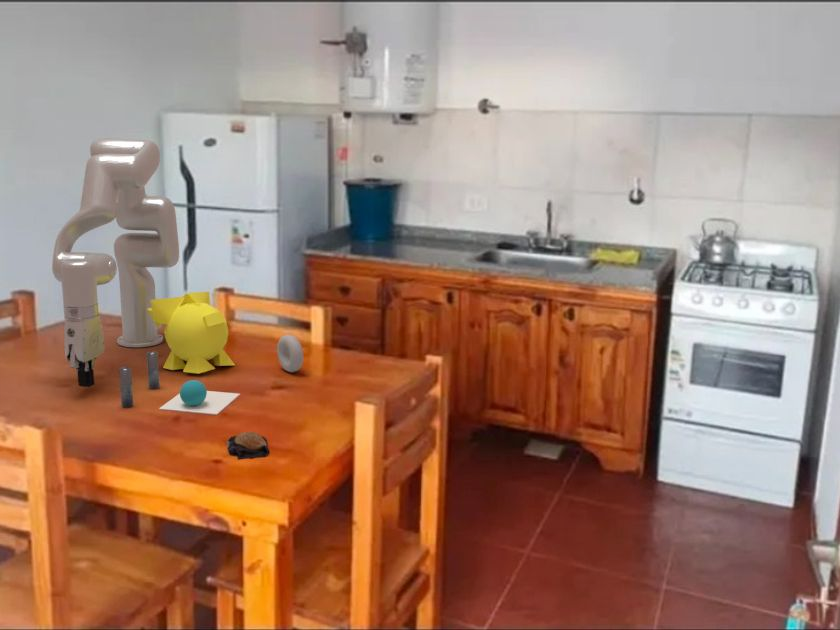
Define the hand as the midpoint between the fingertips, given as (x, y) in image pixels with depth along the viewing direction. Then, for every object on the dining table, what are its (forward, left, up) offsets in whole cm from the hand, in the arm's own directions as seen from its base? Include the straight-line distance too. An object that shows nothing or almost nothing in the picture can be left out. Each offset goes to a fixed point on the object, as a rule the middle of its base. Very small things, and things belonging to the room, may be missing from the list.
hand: (86, 385), depth 206 cm
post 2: (-7, +14, -2) cm, 16 cm away
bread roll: (+23, +50, -2) cm, 55 cm away
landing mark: (0, +29, -2) cm, 29 cm away
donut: (-27, +42, -2) cm, 50 cm away
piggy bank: (-25, +16, -2) cm, 30 cm away
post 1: (+7, +14, -2) cm, 16 cm away
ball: (+3, +29, +2) cm, 29 cm away
